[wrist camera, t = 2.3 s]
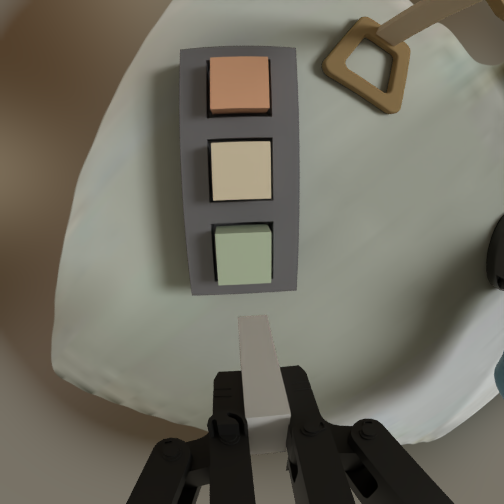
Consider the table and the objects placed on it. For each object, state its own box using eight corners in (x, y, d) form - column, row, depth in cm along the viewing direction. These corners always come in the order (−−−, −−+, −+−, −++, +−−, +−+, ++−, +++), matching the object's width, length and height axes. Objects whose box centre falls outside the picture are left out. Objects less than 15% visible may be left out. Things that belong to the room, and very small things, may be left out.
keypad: (186, 62, 25) (180, 49, 21) (287, 60, 25) (295, 47, 22) (195, 279, 33) (191, 295, 29) (289, 275, 33) (296, 290, 30)
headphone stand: (317, 71, 26) (441, -24, 5) (349, 11, 23) (451, -79, 2) (391, 118, 28) (547, 108, 7) (415, 57, 25) (542, 18, 4)
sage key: (267, 224, 28) (271, 231, 25) (267, 270, 30) (271, 282, 27) (216, 226, 28) (215, 234, 25) (219, 273, 29) (218, 285, 27)
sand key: (266, 143, 26) (270, 141, 23) (266, 194, 27) (271, 198, 24) (213, 144, 25) (211, 142, 22) (215, 196, 27) (213, 200, 24)
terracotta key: (264, 66, 23) (268, 56, 20) (265, 113, 25) (269, 107, 22) (212, 67, 23) (210, 57, 20) (212, 114, 24) (210, 109, 21)
